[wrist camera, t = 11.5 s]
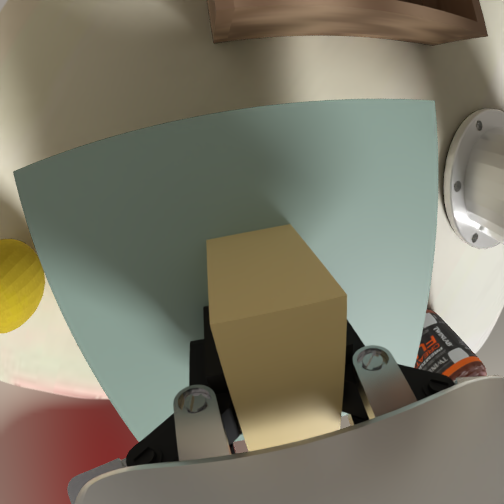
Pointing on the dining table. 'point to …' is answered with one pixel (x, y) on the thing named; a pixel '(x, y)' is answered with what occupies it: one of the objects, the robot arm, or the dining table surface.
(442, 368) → the supplement bottle
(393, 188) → the lid
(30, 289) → the lemon
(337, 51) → the dining table surface
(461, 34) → the box
